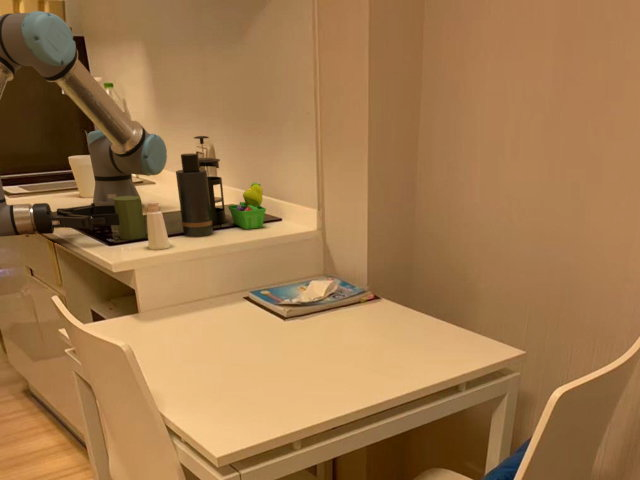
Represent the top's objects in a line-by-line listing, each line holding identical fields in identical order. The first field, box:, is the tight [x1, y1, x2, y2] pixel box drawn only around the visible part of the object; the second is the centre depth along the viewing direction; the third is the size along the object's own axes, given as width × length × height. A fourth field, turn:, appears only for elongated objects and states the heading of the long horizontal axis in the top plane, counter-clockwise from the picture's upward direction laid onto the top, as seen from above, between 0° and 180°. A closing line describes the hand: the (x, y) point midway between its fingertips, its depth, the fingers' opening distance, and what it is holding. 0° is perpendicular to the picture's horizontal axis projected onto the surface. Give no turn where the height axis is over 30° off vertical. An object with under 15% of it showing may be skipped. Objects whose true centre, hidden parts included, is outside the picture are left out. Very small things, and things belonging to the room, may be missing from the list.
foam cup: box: [67, 154, 95, 199], centre depth 245 cm, size 10×9×13 cm
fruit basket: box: [227, 182, 267, 230], centre depth 196 cm, size 11×9×11 cm
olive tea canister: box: [113, 195, 147, 241], centre depth 185 cm, size 7×7×10 cm
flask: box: [175, 152, 214, 238], centre depth 185 cm, size 8×8×20 cm
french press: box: [193, 135, 227, 226], centre depth 199 cm, size 12×9×23 cm
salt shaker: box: [146, 200, 171, 251], centre depth 173 cm, size 5×5×11 cm
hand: (120, 214), depth 184 cm, fingers open, 13 cm apart
